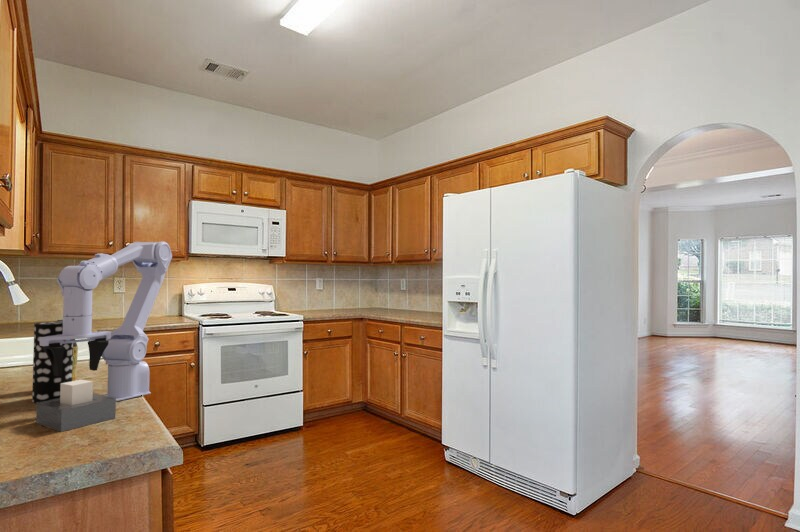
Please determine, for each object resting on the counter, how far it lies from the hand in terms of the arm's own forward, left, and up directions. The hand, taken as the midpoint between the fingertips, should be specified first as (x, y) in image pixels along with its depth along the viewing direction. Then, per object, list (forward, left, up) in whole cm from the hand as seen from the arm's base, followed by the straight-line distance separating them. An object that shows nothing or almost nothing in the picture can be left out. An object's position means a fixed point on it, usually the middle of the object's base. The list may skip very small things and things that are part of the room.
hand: (76, 372), depth 110 cm
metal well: (+3, +7, -9) cm, 12 cm away
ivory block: (+3, +7, -9) cm, 12 cm away
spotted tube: (-3, -18, -10) cm, 21 cm away
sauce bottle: (-10, -28, -10) cm, 31 cm away
